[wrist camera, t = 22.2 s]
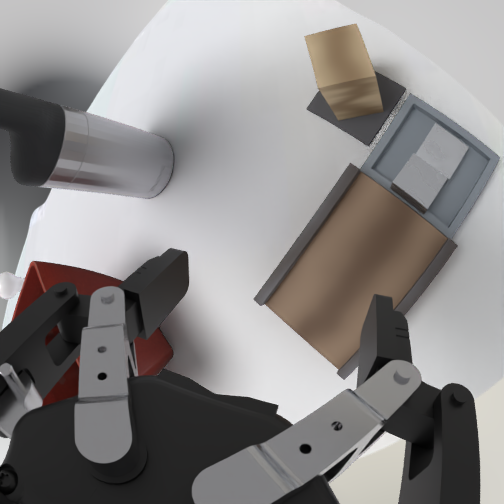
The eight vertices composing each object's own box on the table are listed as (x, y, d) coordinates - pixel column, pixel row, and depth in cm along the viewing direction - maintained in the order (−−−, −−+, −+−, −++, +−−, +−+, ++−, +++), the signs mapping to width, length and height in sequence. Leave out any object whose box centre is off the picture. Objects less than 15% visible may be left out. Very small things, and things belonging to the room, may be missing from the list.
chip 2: (389, 188, 27) (392, 181, 26) (410, 160, 27) (413, 152, 26) (423, 214, 26) (427, 209, 24) (443, 184, 26) (447, 178, 24)
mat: (307, 109, 32) (306, 108, 32) (344, 57, 30) (343, 56, 29) (368, 146, 29) (368, 145, 29) (405, 89, 27) (405, 88, 27)
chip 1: (435, 122, 24) (434, 127, 26) (415, 154, 26) (415, 158, 27) (468, 147, 23) (466, 151, 24) (449, 179, 24) (447, 182, 26)
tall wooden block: (338, 120, 30) (318, 88, 23) (327, 74, 30) (304, 36, 23) (383, 111, 28) (375, 75, 21) (369, 65, 28) (356, 23, 21)
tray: (361, 173, 30) (359, 170, 29) (410, 99, 27) (410, 93, 26) (448, 240, 26) (450, 240, 25) (496, 161, 23) (500, 157, 22)
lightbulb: (34, 265, 62) (-5, 267, 52) (40, 289, 61) (0, 294, 51) (27, 276, 65) (-10, 279, 55) (33, 299, 63) (-5, 304, 54)
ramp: (269, 293, 35) (253, 299, 31) (356, 172, 30) (350, 162, 27) (351, 364, 31) (344, 379, 27) (450, 245, 26) (457, 245, 23)
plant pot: (204, 363, 40) (104, 413, 24) (139, 410, 46) (61, 448, 31) (133, 251, 45) (32, 256, 30) (86, 318, 52) (7, 334, 37)
